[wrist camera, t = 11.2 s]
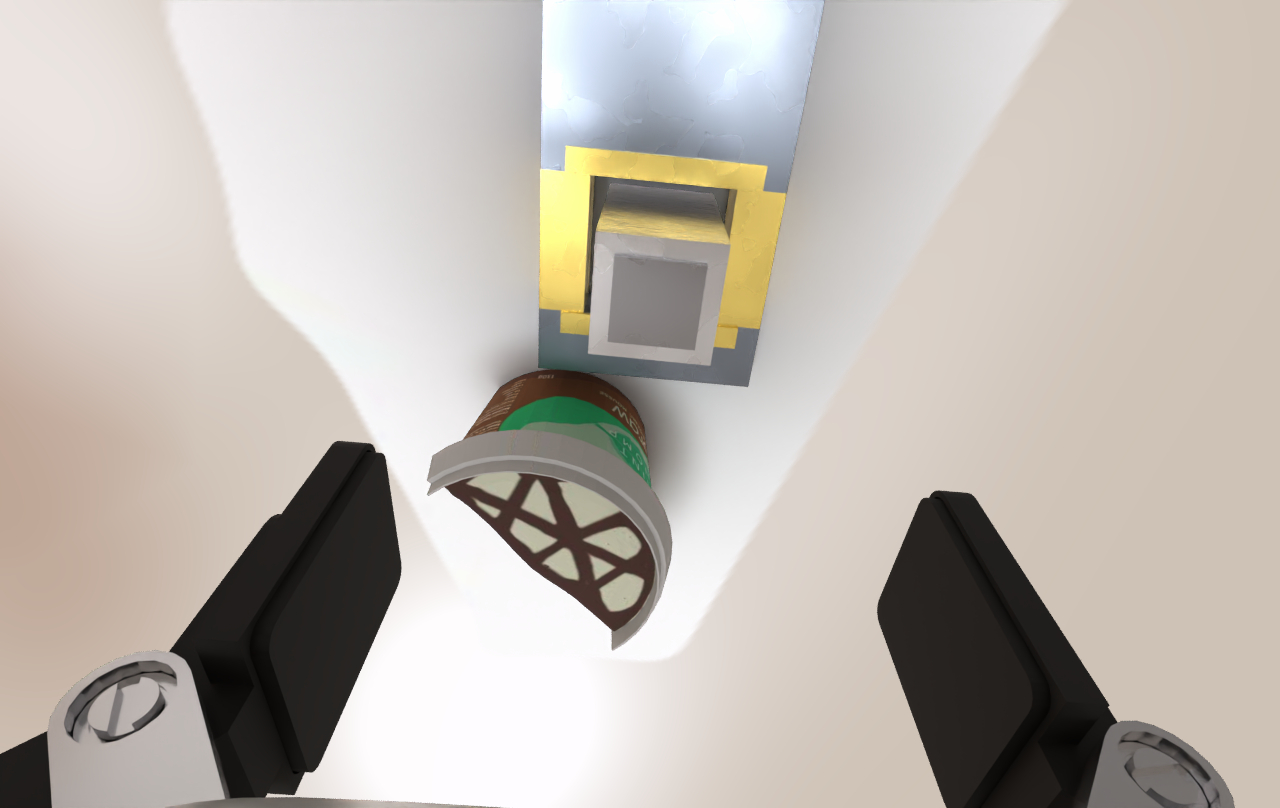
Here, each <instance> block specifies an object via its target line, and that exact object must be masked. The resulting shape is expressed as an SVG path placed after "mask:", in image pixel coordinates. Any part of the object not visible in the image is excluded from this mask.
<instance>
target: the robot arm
mask: <svg viewBox="0 0 1280 808" xmlns="http://www.w3.org/2000/svg"><path fill="white" fill-rule="evenodd" d="M400 576H401V559H400V552H399V545H398V538H397V532H396V525H395V519H394V512H393V505H392V499H391V492H390V485H389V478H388V471H387V465H386V459H385V456H384V454H383V453H376V451H375V448H374V446H373V445H372V444H370V443H357V442H345V441H337V442H334V443H333V444H332V446H331V447H330V448H329V450H328V451H327V452H326V454H325V455H324V456H323V458H322V459H321V460H320V462H319V463H318V465H317V466H316V467H315V469H314V470H313V471H312V473H311V474H310V476H309V477H308V478H307V480H306V481H305V483H304V484H303V485H302V487H301V488H300V489H299V491H298V492H297V493H296V495H295V496H294V498H293V499H292V500H291V502H290V503H289V504H288V506H287V507H286V509H285V510H284V511H283V513H282V514H277V515H275V516H273V517H271V518H270V519H269V520H268V521H267V522H266V523H265V524H264V525H263V527H262V528H261V530H260V531H259V532H258V533H257V535H256V536H255V537H254V539H253V540H252V541H251V543H250V544H249V545H248V547H247V548H246V549H245V551H244V552H243V553H242V555H241V556H240V557H239V559H238V560H237V561H236V563H235V564H234V566H233V567H232V568H231V569H230V571H229V572H228V573H227V575H226V576H225V578H224V579H223V580H222V581H221V583H220V585H219V586H218V587H217V588H216V590H215V591H214V592H213V594H212V595H211V596H210V598H209V599H208V600H207V602H206V603H205V604H204V606H203V607H202V608H201V610H200V611H199V612H198V614H197V615H196V617H195V618H194V619H193V620H192V622H191V623H190V624H189V626H188V627H187V628H186V630H185V631H184V632H183V634H182V635H181V636H180V638H179V639H178V640H177V642H176V643H175V645H174V646H173V647H172V648H171V650H170V651H169V652H164V651H158V650H154V651H145V652H137V653H133V654H130V655H127V656H124V657H121V658H118V659H115V660H113V661H111V662H109V663H107V664H105V665H103V666H101V667H99V668H97V669H95V670H94V671H92V672H91V673H89V674H88V675H87V676H85V677H84V678H82V679H81V680H80V681H78V682H77V683H76V684H75V685H74V686H73V687H72V688H71V689H70V690H69V691H68V692H67V693H66V694H65V695H64V696H63V697H62V698H61V699H60V701H59V703H58V704H57V706H56V708H55V710H54V711H53V713H52V715H51V716H50V720H49V726H48V731H47V732H44V733H43V734H40V735H38V736H36V737H34V738H32V739H30V740H28V741H26V742H24V743H22V744H20V745H18V746H16V747H14V748H12V749H10V750H8V751H6V752H4V753H1V754H0V808H498V807H482V806H466V805H450V804H433V803H415V802H396V801H373V800H349V799H325V798H300V797H289V798H288V797H285V798H282V797H281V798H265V797H266V795H267V793H270V794H286V795H295V793H296V791H297V788H298V786H299V784H300V782H301V779H302V777H303V775H304V773H305V772H313V771H315V770H316V768H317V767H318V766H319V763H320V762H321V760H322V757H323V755H324V753H325V751H326V748H327V746H328V744H329V741H330V739H331V737H332V735H333V732H334V730H335V728H336V725H337V723H338V721H339V719H340V716H341V714H342V712H343V709H344V707H345V705H346V703H347V700H348V698H349V696H350V694H351V691H352V689H353V687H354V685H355V682H356V680H357V678H358V675H359V673H360V671H361V669H362V666H363V664H364V662H365V659H366V657H367V655H368V652H369V650H370V648H371V646H372V643H373V641H374V639H375V637H376V634H377V632H378V630H379V628H380V625H381V623H382V621H383V619H384V616H385V614H386V611H387V609H388V607H389V605H390V603H391V600H392V598H393V596H394V593H395V591H396V589H397V587H398V584H399V580H400ZM877 613H878V620H879V624H880V627H881V629H882V632H883V635H884V638H885V640H886V643H887V646H888V649H889V651H890V654H891V657H892V660H893V663H894V665H895V668H896V671H897V674H898V676H899V679H900V682H901V685H902V687H903V690H904V693H905V696H906V698H907V701H908V704H909V707H910V709H911V712H912V715H913V718H914V720H915V723H916V726H917V729H918V731H919V734H920V737H921V740H922V742H923V745H924V748H925V751H926V754H927V756H928V759H929V762H930V765H931V767H932V770H933V773H934V776H935V778H936V781H937V784H938V787H939V790H940V792H941V795H942V797H943V801H944V803H945V805H946V807H947V808H1235V807H1234V801H1233V797H1232V795H1231V793H1230V791H1229V789H1228V787H1227V785H1226V783H1225V782H1224V780H1223V779H1222V778H1221V776H1220V775H1219V774H1218V773H1217V771H1216V770H1215V769H1214V768H1213V766H1212V765H1211V764H1210V763H1209V762H1208V761H1207V760H1206V759H1205V758H1204V757H1203V756H1201V755H1200V754H1199V753H1198V752H1197V751H1196V750H1195V749H1194V748H1193V747H1191V746H1190V745H1188V744H1187V743H1185V742H1184V741H1182V740H1181V739H1179V738H1178V737H1176V736H1175V735H1173V734H1171V733H1169V732H1167V731H1165V730H1163V729H1161V728H1158V727H1156V726H1154V725H1151V724H1147V723H1143V722H1139V721H1120V722H1117V721H1116V719H1115V718H1114V716H1113V715H1112V713H1111V712H1110V710H1109V708H1108V706H1109V704H1108V702H1107V701H1106V699H1105V697H1104V696H1103V694H1102V693H1101V691H1100V690H1099V688H1098V687H1097V685H1096V684H1095V682H1094V681H1093V679H1092V678H1091V676H1090V674H1089V673H1088V671H1087V670H1086V668H1085V667H1084V665H1083V664H1082V662H1081V660H1080V659H1079V657H1078V656H1077V654H1076V653H1075V651H1074V650H1073V648H1072V647H1071V645H1070V644H1069V642H1068V640H1067V639H1066V637H1065V636H1064V634H1063V633H1062V631H1061V630H1060V628H1059V626H1058V625H1057V623H1056V622H1055V620H1054V619H1053V617H1052V616H1051V614H1050V613H1049V611H1048V609H1047V608H1046V607H1045V605H1044V603H1043V602H1042V600H1041V599H1040V597H1039V596H1038V594H1037V592H1036V591H1035V590H1034V588H1033V586H1032V585H1031V583H1030V582H1029V580H1028V579H1027V577H1026V575H1025V574H1024V572H1023V571H1022V569H1021V568H1020V566H1019V565H1018V563H1017V562H1016V560H1015V559H1014V557H1013V555H1012V554H1011V552H1010V551H1009V549H1008V548H1007V546H1006V545H1005V543H1004V541H1003V540H1002V538H1001V537H1000V535H999V534H998V532H997V531H996V529H995V528H994V526H993V525H992V523H991V522H990V520H989V518H988V517H987V515H986V514H985V512H984V511H983V509H982V508H981V506H980V505H979V503H978V501H977V500H976V498H975V497H974V496H973V495H972V494H969V493H962V492H949V491H934V492H933V493H932V494H931V495H930V497H929V498H923V499H922V500H921V501H920V503H919V505H918V508H917V510H916V512H915V515H914V517H913V520H912V522H911V524H910V527H909V529H908V532H907V534H906V537H905V539H904V541H903V544H902V546H901V549H900V551H899V553H898V556H897V558H896V560H895V563H894V565H893V568H892V570H891V572H890V575H889V577H888V580H887V582H886V584H885V587H884V589H883V592H882V594H881V596H880V599H879V602H878V608H877Z"/></svg>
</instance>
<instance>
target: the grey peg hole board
mask: <svg viewBox="0 0 1280 808" xmlns="http://www.w3.org/2000/svg"><path fill="white" fill-rule="evenodd" d="M824 3H825V0H543V33H542V116H541V198H540V281H539V363H538V368H547V369H558V370H569V371H580V372H591V373H602V374H613V375H624V376H635V377H646V378H657V379H668V380H679V381H690V382H701V383H712V384H723V385H734V386H745V387H748V385H749V380H750V375H751V370H752V365H753V360H754V355H755V350H756V345H757V340H758V334H759V329H760V324H761V319H762V314H763V309H764V304H765V299H766V294H767V289H768V284H769V279H770V274H771V269H772V264H773V259H774V254H775V249H776V244H777V239H778V234H779V229H780V224H781V219H782V214H783V209H784V204H785V199H786V194H787V189H788V184H789V179H790V174H791V169H792V164H793V158H794V153H795V148H796V143H797V138H798V133H799V128H800V123H801V118H802V113H803V108H804V103H805V98H806V93H807V88H808V83H809V78H810V73H811V68H812V63H813V58H814V53H815V48H816V43H817V38H818V33H819V28H820V23H821V18H822V13H823V8H824ZM595 176H604V177H614V178H624V179H635V180H645V181H655V182H665V183H675V184H685V185H695V186H706V187H716V188H726V189H730V191H729V197H728V204H727V210H726V216H725V223H724V226H725V229H726V232H727V235H728V238H729V241H730V244H731V247H730V253H729V259H728V265H727V271H726V277H725V282H724V288H723V294H722V300H721V306H720V312H719V318H718V324H717V330H716V336H715V341H714V347H713V353H712V359H711V365H710V366H707V365H697V364H687V363H677V362H667V361H656V360H646V359H636V358H626V357H616V356H605V355H595V354H588V344H589V328H590V312H591V296H592V293H589V278H590V259H591V240H592V221H593V202H594V183H595Z"/></svg>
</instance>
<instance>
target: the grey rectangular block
mask: <svg viewBox="0 0 1280 808" xmlns="http://www.w3.org/2000/svg"><path fill="white" fill-rule="evenodd" d="M730 247H731V244H730V241H729V238H728V235H727V232H726V229H725V226H724V223H723V220H722V217H721V214H720V211H719V209H718V206H717V203H716V200H715V197H714V194H713V193H704V192H694V191H685V190H675V189H666V188H656V187H647V186H637V185H628V184H618V183H610V187H609V190H608V193H607V196H606V199H605V202H604V206H603V209H602V212H601V215H600V218H599V222H598V225H597V228H596V232H595V248H594V264H593V280H592V296H591V312H590V328H589V344H588V354H595V355H605V356H616V357H626V358H636V359H646V360H656V361H667V362H677V363H687V364H697V365H707V366H710V365H711V359H712V353H713V347H714V341H715V336H716V330H717V324H718V318H719V312H720V306H721V300H722V294H723V288H724V282H725V277H726V271H727V265H728V259H729V253H730Z"/></svg>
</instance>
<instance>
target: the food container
mask: <svg viewBox="0 0 1280 808" xmlns="http://www.w3.org/2000/svg"><path fill="white" fill-rule="evenodd" d="M427 481H428V482H430V483H431V486H430V488H429V491H428V493H427V495H428V496H429V495H431V494H433V493H434V492H436V491H438V490H440V489H441V488H443V487H445V488H446V489H448V490H449V492H450V493H451V494H452V495H453V496H455V497H456V498H458V499H460V500H461V501H462V502H464V503H465V504H466V505H468V506H469V507H470V508H471V509H472V510H473V511H475V512H476V513H477V514H478V515H479V516H480V517H481V518H483V519H484V520H485V521H486V522H487V523H488V524H489V525H490V526H491V527H492V528H493V529H494V530H495V531H496V532H497V533H498V534H499V535H500V536H501V537H502V538H503V539H504V540H505V541H506V542H507V544H508V545H509V546H510V547H511V548H512V549H513V550H514V551H515V552H516V553H517V554H518V555H519V556H520V557H521V558H522V559H523V560H524V561H525V562H526V563H527V564H528V565H529V566H530V567H531V568H532V569H533V570H535V571H536V572H538V573H539V574H540V575H542V576H543V577H544V578H546V579H547V580H549V581H550V582H552V583H554V584H555V585H557V586H558V587H560V588H561V589H563V590H564V591H566V592H567V593H569V594H570V595H571V596H573V597H574V598H575V599H577V600H578V601H579V602H580V603H581V604H582V605H584V606H585V607H586V608H587V609H588V610H590V611H591V612H592V613H593V614H594V615H595V616H597V617H598V618H599V619H600V620H601V621H602V622H603V623H604V624H606V625H607V626H608V627H609V628H610V629H611V630H612V650H615V649H617V648H618V647H620V646H621V645H623V644H624V643H626V642H627V641H628V640H629V639H631V638H632V637H633V636H634V635H635V634H636V633H637V632H638V631H639V630H640V629H641V628H642V626H643V625H644V624H645V623H646V621H647V620H648V618H649V616H650V614H651V613H652V611H653V610H654V608H655V606H656V604H657V603H658V601H659V599H660V597H661V594H662V590H663V587H664V584H665V580H666V576H667V572H668V569H669V565H670V561H671V553H672V537H671V529H670V524H669V521H668V519H667V516H666V513H665V510H664V508H663V506H662V504H661V503H660V501H659V499H658V497H657V496H656V494H655V492H654V491H653V490H652V489H651V481H650V473H649V464H648V456H647V447H646V439H645V430H644V425H643V423H642V421H641V419H640V416H639V414H638V412H637V410H636V408H635V407H634V406H633V404H632V403H631V402H630V401H629V399H628V398H627V397H626V396H625V395H624V394H622V393H621V392H620V391H619V390H618V389H617V388H615V387H614V386H612V385H611V384H609V383H608V382H606V381H604V380H601V379H599V378H597V377H595V376H592V375H589V374H586V373H583V372H578V371H569V370H558V369H550V370H542V371H536V372H532V373H528V374H525V375H522V376H520V377H517V378H515V379H513V380H511V381H509V382H508V383H506V384H505V385H503V386H502V387H500V388H499V389H498V390H497V392H496V393H495V395H494V396H493V398H492V399H491V400H490V402H489V403H488V405H487V406H486V408H485V409H484V410H483V412H482V413H481V415H480V416H479V418H478V419H477V420H476V422H475V423H474V425H473V426H472V427H471V429H470V430H469V432H468V433H467V435H466V436H465V437H464V439H463V440H462V441H459V442H457V443H454V444H452V445H450V446H448V447H446V448H444V449H443V450H441V451H439V452H438V453H436V454H435V455H433V456H432V460H431V465H430V469H429V474H428V478H427Z"/></svg>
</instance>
